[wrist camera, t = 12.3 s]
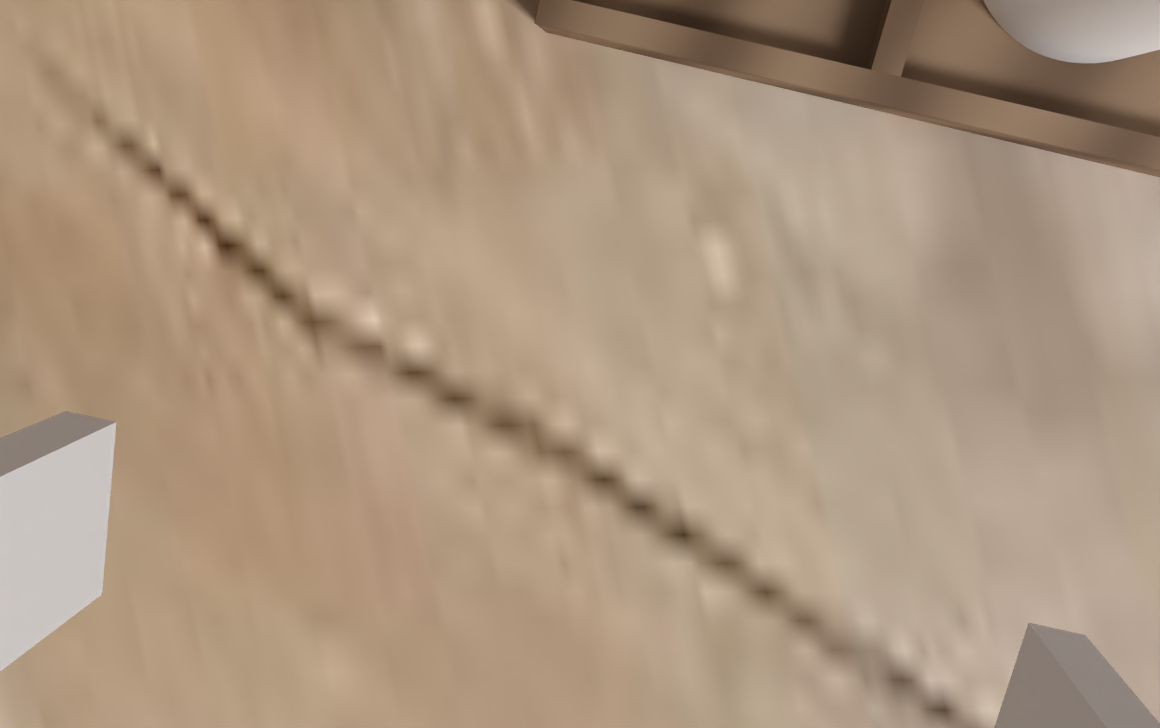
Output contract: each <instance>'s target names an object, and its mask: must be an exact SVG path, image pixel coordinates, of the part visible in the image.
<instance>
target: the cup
mask: <svg viewBox="0 0 1160 728" xmlns="http://www.w3.org/2000/svg"><path fill="white" fill-rule="evenodd" d="M983 1H984V3H985V5H986V7H987V8H988V10H989V12H990V13H991V15H992V16H993V17H994V19H995V20H996V22H997V23H998V24H999V25H1000V26H1001V27H1002V28H1003V29H1004V31H1005V32H1007V33H1008V34H1009V35H1010V36H1011V37H1012V38H1013V39H1015V40H1016V41H1017V42H1019V43H1020V44H1022V45H1023V46H1025V47H1027V48H1028V49H1030V50H1032V51H1034V52H1036V53H1038V54H1041V55H1043V56H1046V57H1049V58H1052V59H1055V60H1060V61H1065V62H1072V63H1102V62H1110V61H1115V60H1120V59H1124V58H1128V57H1132V56H1136V55H1140V54H1144V53H1148V52H1152V51H1156V50H1160V0H983Z"/></svg>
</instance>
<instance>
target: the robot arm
mask: <svg viewBox="0 0 1160 728" xmlns="http://www.w3.org/2000/svg"><path fill="white" fill-rule="evenodd" d="M115 432H116V422H114V421H109V420H105V419H100V418H96V417H91V416H87V415H82V414H78V413H73V412H68V411H65V412H63V413H60V414H58V415H55V416H53V417H51V418H48V419H46V420H43V421H41V422H39V423H36V424H34V425H31V426H29V427H26V428H24V429H22V430H19V431H17V432H14V433H12V434H10V435H7V436H5V437H2V438H0V671H1V670H3V669H4V668H5V667H7V666H8V665H9V664H11V663H12V662H13V661H14V660H16V659H17V658H18V657H20V656H21V655H22V654H24V653H25V652H26V651H28V650H29V649H30V648H32V647H33V646H34V645H36V644H37V643H38V642H40V641H41V640H42V639H44V638H45V637H46V636H47V635H49V634H50V633H51V632H53V631H54V630H55V629H57V628H58V627H59V626H61V625H62V624H63V623H65V622H66V621H67V620H69V619H70V618H71V617H73V616H74V615H75V614H77V613H78V612H79V611H80V610H82V609H83V608H84V607H86V606H87V605H88V604H90V603H91V602H92V601H94V600H95V599H96V598H98V597H99V596H100V595H102V588H103V576H104V564H105V552H106V540H107V528H108V516H109V504H110V492H111V480H112V468H113V456H114V444H115ZM995 728H1160V723H1159V722H1158V721H1157V720H1156V719H1155V717H1154V716H1153V715H1152V714H1151V713H1150V711H1149V710H1148V709H1147V708H1146V707H1145V706H1144V704H1143V703H1142V702H1141V701H1140V700H1139V698H1138V697H1137V696H1136V695H1135V694H1134V692H1133V691H1132V690H1131V689H1130V688H1129V687H1128V685H1127V684H1126V683H1125V682H1124V681H1123V679H1122V678H1121V677H1120V676H1119V675H1118V673H1117V672H1116V671H1115V670H1114V669H1113V668H1112V666H1111V665H1110V664H1109V663H1108V662H1107V660H1106V659H1105V658H1104V657H1103V656H1102V655H1101V653H1100V652H1099V651H1098V650H1097V649H1096V647H1095V646H1094V645H1093V644H1092V643H1091V641H1090V640H1089V639H1088V638H1087V637H1086V636H1085V635H1082V634H1077V633H1073V632H1068V631H1064V630H1059V629H1055V628H1050V627H1046V626H1041V625H1036V624H1032V623H1029V624H1028V627H1027V630H1026V633H1025V636H1024V639H1023V642H1022V645H1021V648H1020V651H1019V654H1018V657H1017V660H1016V663H1015V666H1014V669H1013V673H1012V676H1011V679H1010V682H1009V685H1008V688H1007V691H1006V694H1005V697H1004V700H1003V703H1002V706H1001V709H1000V712H999V715H998V718H997V721H996V725H995Z"/></svg>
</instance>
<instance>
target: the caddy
mask: <svg viewBox="0 0 1160 728" xmlns="http://www.w3.org/2000/svg"><path fill="white" fill-rule="evenodd" d="M535 24H537V25H538V26H539V27H540V28H542V29H543V30H544V31H546V32H547V33H552V34H556V35H560V36H564V37H569V38H573V39H577V40H581V41H586V42H590V43H594V44H598V45H603V46H607V47H611V48H615V49H619V50H624V51H628V52H632V53H636V54H641V55H645V56H649V57H653V58H658V59H662V60H666V61H670V62H675V63H679V64H683V65H687V66H691V67H696V68H700V69H704V70H708V71H713V72H717V73H721V74H725V75H730V76H734V77H738V78H742V79H747V80H751V81H755V82H759V83H763V84H768V85H772V86H776V87H780V88H785V89H789V90H793V91H797V92H802V93H806V94H810V95H814V96H819V97H823V98H827V99H831V100H835V101H840V102H844V103H848V104H852V105H857V106H861V107H865V108H869V109H874V110H878V111H882V112H886V113H890V114H895V115H899V116H903V117H907V118H912V119H916V120H920V121H924V122H929V123H933V124H937V125H941V126H946V127H950V128H954V129H958V130H962V131H967V132H971V133H975V134H979V135H984V136H988V137H992V138H996V139H1001V140H1005V141H1009V142H1013V143H1018V144H1022V145H1026V146H1030V147H1034V148H1039V149H1043V150H1047V151H1051V152H1056V153H1060V154H1064V155H1068V156H1073V157H1077V158H1081V159H1085V160H1090V161H1094V162H1098V163H1102V164H1106V165H1111V166H1115V167H1119V168H1123V169H1128V170H1132V171H1136V172H1140V173H1145V174H1149V175H1153V176H1157V177H1160V50H1156V51H1152V52H1148V53H1144V54H1140V55H1136V56H1132V57H1128V58H1124V59H1120V60H1115V61H1110V62H1102V63H1072V62H1065V61H1060V60H1055V59H1052V58H1049V57H1046V56H1043V55H1041V54H1038V53H1036V52H1034V51H1032V50H1030V49H1028V48H1027V47H1025V46H1023V45H1022V44H1020V43H1019V42H1017V41H1016V40H1015V39H1013V38H1012V37H1011V36H1010V35H1009V34H1008V33H1007V32H1005V31H1004V29H1003V28H1002V27H1001V26H1000V25H999V24H998V23H997V22H996V20H995V19H994V17H993V16H992V15H991V13H990V12H989V10H988V8H987V7H986V5H985V3H984V1H983V0H539V4H538V9H537V14H536V18H535Z"/></svg>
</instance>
